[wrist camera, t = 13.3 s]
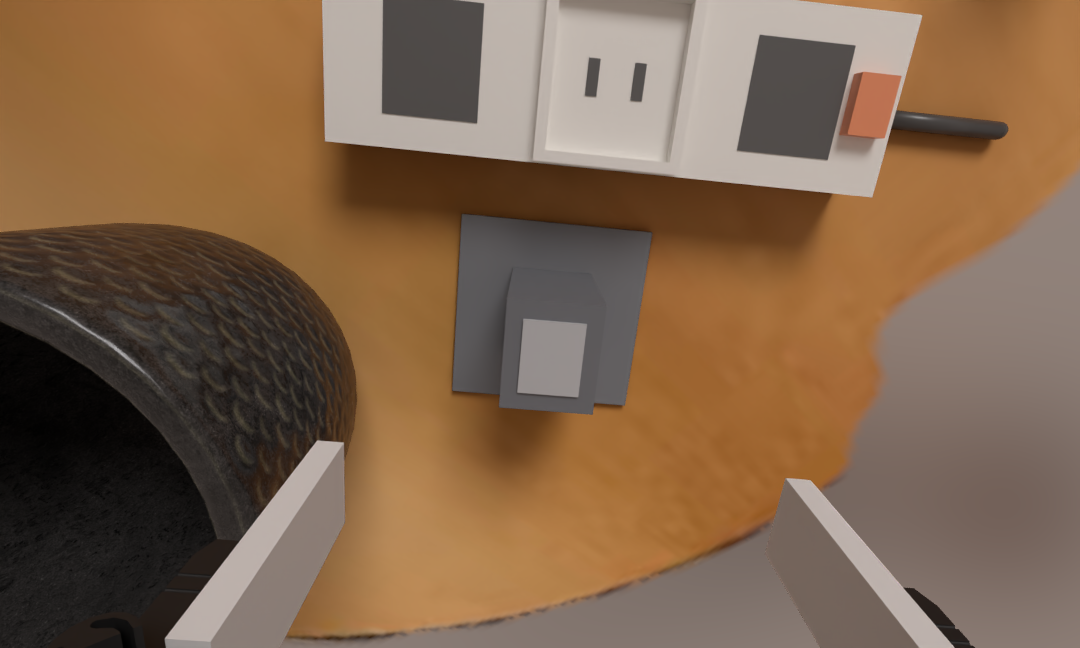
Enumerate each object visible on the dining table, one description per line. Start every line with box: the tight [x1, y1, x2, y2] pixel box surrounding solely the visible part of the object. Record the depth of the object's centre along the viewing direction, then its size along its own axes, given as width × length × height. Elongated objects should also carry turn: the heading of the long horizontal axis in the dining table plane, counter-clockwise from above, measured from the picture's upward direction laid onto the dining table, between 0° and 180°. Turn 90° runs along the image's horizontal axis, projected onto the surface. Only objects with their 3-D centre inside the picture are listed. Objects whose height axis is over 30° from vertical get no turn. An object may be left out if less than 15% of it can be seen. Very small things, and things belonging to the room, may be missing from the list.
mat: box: [452, 214, 652, 405], centre depth 35 cm, size 12×12×1 cm
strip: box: [322, 0, 1008, 197], centre depth 29 cm, size 39×9×5 cm, turn 84°
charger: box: [499, 267, 607, 415], centre depth 31 cm, size 5×6×8 cm
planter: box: [0, 223, 357, 648], centre depth 27 cm, size 20×20×19 cm
